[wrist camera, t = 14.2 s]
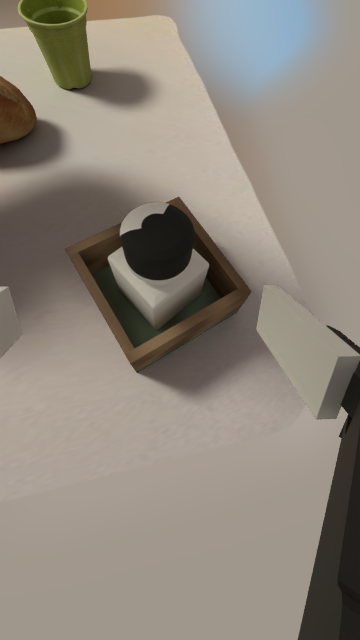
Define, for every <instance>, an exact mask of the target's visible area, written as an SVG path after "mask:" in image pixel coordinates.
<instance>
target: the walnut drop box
mask: <svg viewBox="0 0 360 640" xmlns="http://www.w3.org/2000/svg"><path fill="white" fill-rule="evenodd" d="M166 203H167V204H170V205H173V206H175V207H177V208H179V209H180V210H182V211H183V212H184V213H185V214H186V215H187V216H188V217H189V218H190V220H191V222H192V224H193V226H194V231H195V237H194V244H193V249H194V250H195V251H196V252H198V253H199V254H200V255H201V256H202V257H203V258H204V259H205V260H206V261H207V262H208V263H209V268H208V271H207V275H206V278H205V281H204V284H203V288H202V291H201V294H200V295H199V296H198V297H197V298H196V299H195V300H193V301H192V302H191V303H190V304H189V305H187V306H186V307H185V308H184V309H183V310H181V311H180V312H179V313H178V314H177V315H175V316H174V317H173V318H172V319H171V320H169V321H168V322H167V323H166V324H164V325H163V326H162V327H161V328H160V329H158V330H156V329H154V327H153V326H152V325H151V324H150V323H149V322H148V321H147V320H146V319H145V318H144V316H143V315H142V314H141V313H140V312H139V311H138V310H137V309H136V308H135V306H134V305H133V304H132V303H131V302H130V301H129V300H128V299H127V298H126V297H125V295H124V294H123V293H122V292H121V291H120V290H119V288H118V285H117V282H116V280H115V277H114V275H113V272H112V269H111V267H110V264H109V261H108V256H109V255H111V254H112V253H114V252H115V251H116V250H118V249H119V248H121V247H122V244H121V240H120V227H121V224H122V223H120V224H118V225H116V226H114V227H112V228H110V229H107V230H105V231H103V232H101V233H99V234H97V235H94V236H92V237H90V238H88V239H86V240H83V241H81V242H79V243H77V244H75V245H73V246H70V247H68V248H66V249H65V250H66V252H67V253H68V255H69V257H70V259H71V261H72V262H73V264H74V266H75V268H76V269H77V271H78V273H79V275H80V276H81V278H82V280H83V282H84V283H85V285H86V287H87V289H88V290H89V292H90V294H91V296H92V297H93V299H94V301H95V303H96V304H97V306H98V308H99V310H100V311H101V313H102V315H103V317H104V318H105V320H106V322H107V324H108V325H109V327H110V329H111V331H112V332H113V334H114V336H115V338H116V339H117V341H118V343H119V345H120V346H121V348H122V350H123V352H124V353H125V355H126V357H127V359H128V360H129V362H130V364H131V365H132V367H133V368H134V369H135V371H136V372H139V371H141V370H142V369H144V368H145V367H147V366H149V365H150V364H152V363H154V362H155V361H157V360H159V359H160V358H162V357H164V356H165V355H167V354H169V353H170V352H172V351H174V350H175V349H177V348H179V347H180V346H182V345H184V344H185V343H187V342H189V341H190V340H192V339H193V338H195V337H197V336H198V335H200V334H202V333H203V332H205V331H207V330H208V329H210V328H212V327H213V326H215V325H217V324H218V323H220V322H222V321H223V320H225V319H227V318H228V317H230V316H232V315H233V314H235V313H236V312H237V311H238V310H239V309H240V307H241V306H242V304H243V303H244V302H245V300H246V299H247V297H248V296H249V295H250V293H251V292H252V291H251V290H250V289H249V288H248V286H247V285H246V284H245V282H244V281H243V280H242V278H241V277H240V276H239V274H238V273H237V272H236V271H235V269H234V268H233V267H232V265H231V264H230V263H229V261H228V260H227V259H226V257H225V256H224V255H223V254H222V252H221V251H220V250H219V248H218V247H217V246H216V244H215V243H214V242H213V241H212V239H211V238H210V237H209V235H208V234H207V233H206V231H205V230H204V229H203V227H202V226H201V225H200V224H199V222H198V221H197V220H196V218H195V217H194V216H193V214H192V213H191V212H190V210H189V209H188V208H187V207H186V205H185V204H184V203H183V201H182V200H181V199H180V197H177V198H175V199H173V200H171V201H168V202H166Z"/></svg>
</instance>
